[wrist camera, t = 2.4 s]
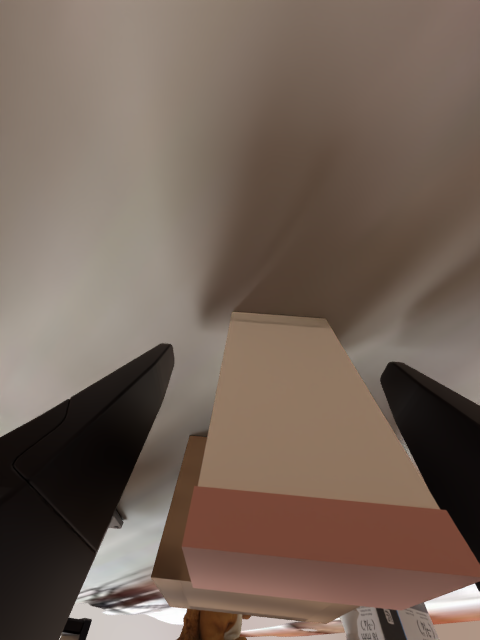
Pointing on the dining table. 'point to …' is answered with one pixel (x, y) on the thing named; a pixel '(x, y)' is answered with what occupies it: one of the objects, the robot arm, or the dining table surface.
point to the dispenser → (181, 594)
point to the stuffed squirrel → (211, 625)
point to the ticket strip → (312, 482)
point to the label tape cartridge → (395, 624)
